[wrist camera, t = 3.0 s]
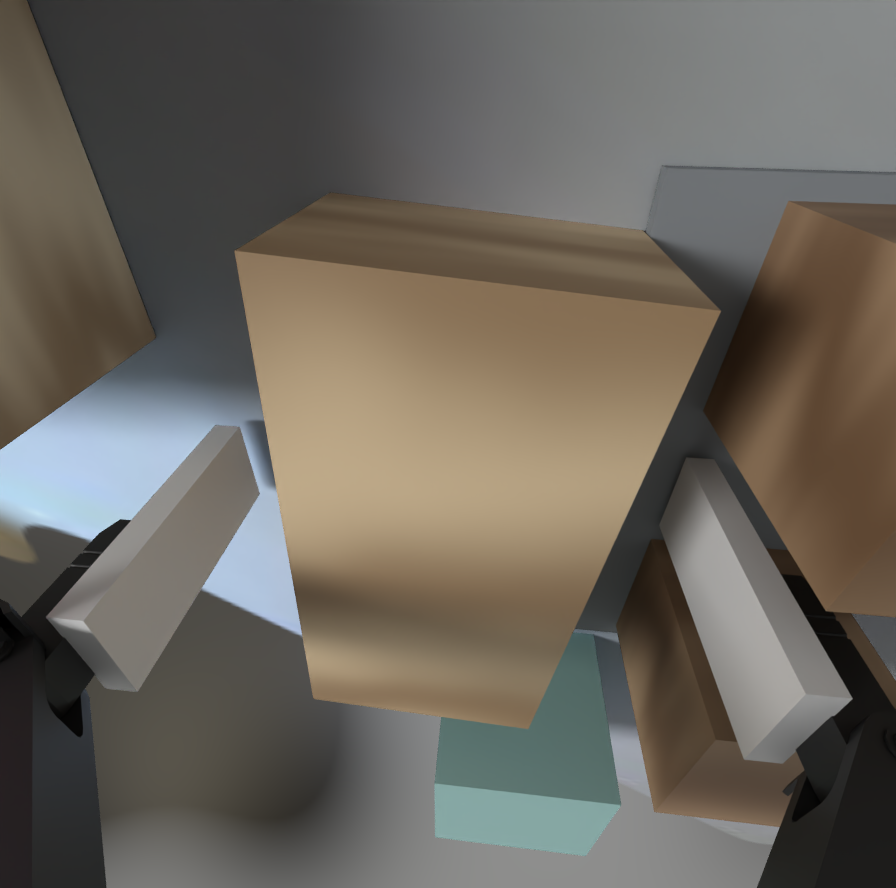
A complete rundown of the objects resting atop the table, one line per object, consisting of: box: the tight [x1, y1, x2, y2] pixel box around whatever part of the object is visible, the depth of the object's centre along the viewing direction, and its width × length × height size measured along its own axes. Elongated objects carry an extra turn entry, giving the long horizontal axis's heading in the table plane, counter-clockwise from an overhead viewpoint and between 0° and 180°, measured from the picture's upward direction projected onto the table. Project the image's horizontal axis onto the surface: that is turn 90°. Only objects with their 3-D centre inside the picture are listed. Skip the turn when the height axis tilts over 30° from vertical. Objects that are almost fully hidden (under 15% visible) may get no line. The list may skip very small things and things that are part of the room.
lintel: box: [234, 192, 721, 729], centre depth 13 cm, size 14×7×5 cm, turn 175°
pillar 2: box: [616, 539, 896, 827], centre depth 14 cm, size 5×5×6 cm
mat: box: [575, 166, 896, 633], centre depth 14 cm, size 16×10×1 cm, turn 179°
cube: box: [435, 633, 621, 856], centre depth 19 cm, size 6×6×6 cm
